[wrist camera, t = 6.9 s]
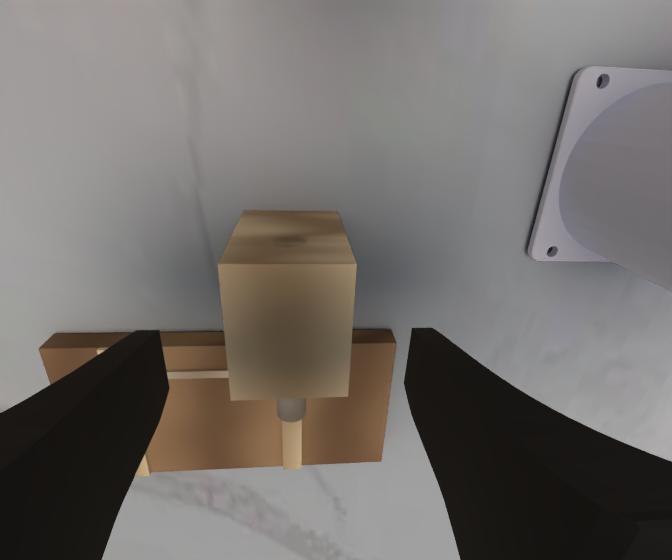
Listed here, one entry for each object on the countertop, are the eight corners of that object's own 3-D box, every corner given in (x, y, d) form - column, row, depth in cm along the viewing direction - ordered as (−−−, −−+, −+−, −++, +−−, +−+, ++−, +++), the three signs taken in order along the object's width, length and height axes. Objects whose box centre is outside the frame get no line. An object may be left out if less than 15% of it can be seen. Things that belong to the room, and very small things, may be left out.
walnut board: (390, 329, 19) (397, 345, 18) (377, 444, 23) (381, 464, 22) (54, 333, 18) (35, 351, 17) (92, 456, 21) (79, 478, 20)
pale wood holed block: (337, 211, 17) (356, 264, 11) (331, 353, 20) (344, 448, 14) (243, 209, 16) (217, 263, 11) (253, 355, 19) (235, 453, 14)
